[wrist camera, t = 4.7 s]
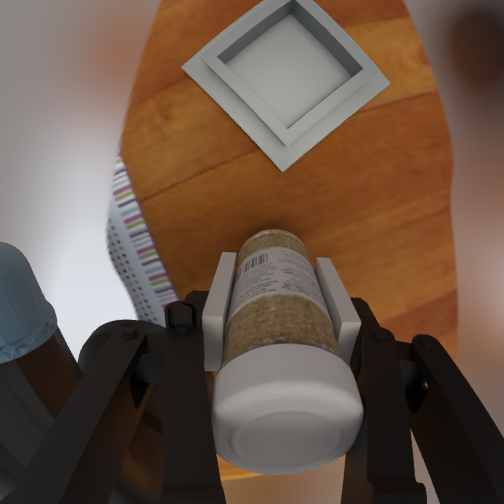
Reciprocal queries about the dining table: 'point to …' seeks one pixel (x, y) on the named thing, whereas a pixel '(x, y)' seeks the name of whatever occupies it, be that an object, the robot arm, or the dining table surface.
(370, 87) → the holder
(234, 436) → the spice jar
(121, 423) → the robot arm
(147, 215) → the dining table surface
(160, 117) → the dining table surface
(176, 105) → the dining table surface
